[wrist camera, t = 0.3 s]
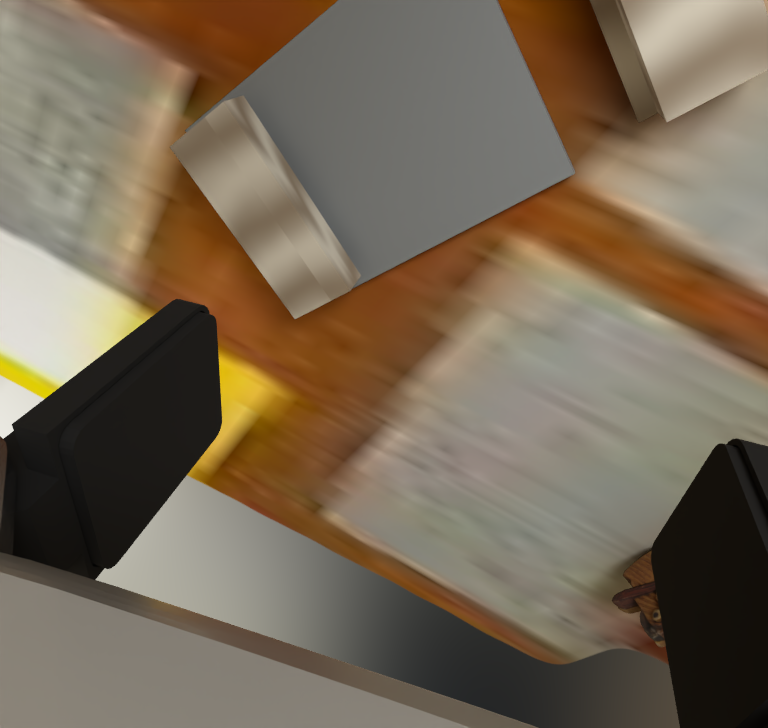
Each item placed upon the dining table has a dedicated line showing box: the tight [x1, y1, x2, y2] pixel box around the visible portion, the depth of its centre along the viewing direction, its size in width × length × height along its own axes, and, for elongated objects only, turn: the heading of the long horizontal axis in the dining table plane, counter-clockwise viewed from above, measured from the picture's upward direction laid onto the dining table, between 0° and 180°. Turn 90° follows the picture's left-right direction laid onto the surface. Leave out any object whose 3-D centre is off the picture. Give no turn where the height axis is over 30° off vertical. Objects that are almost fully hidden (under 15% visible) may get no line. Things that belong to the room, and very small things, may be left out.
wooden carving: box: [612, 550, 666, 647], centre depth 52 cm, size 16×5×10 cm, turn 135°
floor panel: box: [185, 0, 575, 288], centre depth 42 cm, size 18×25×1 cm
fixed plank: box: [170, 95, 361, 319], centre depth 44 cm, size 16×6×4 cm, turn 33°
